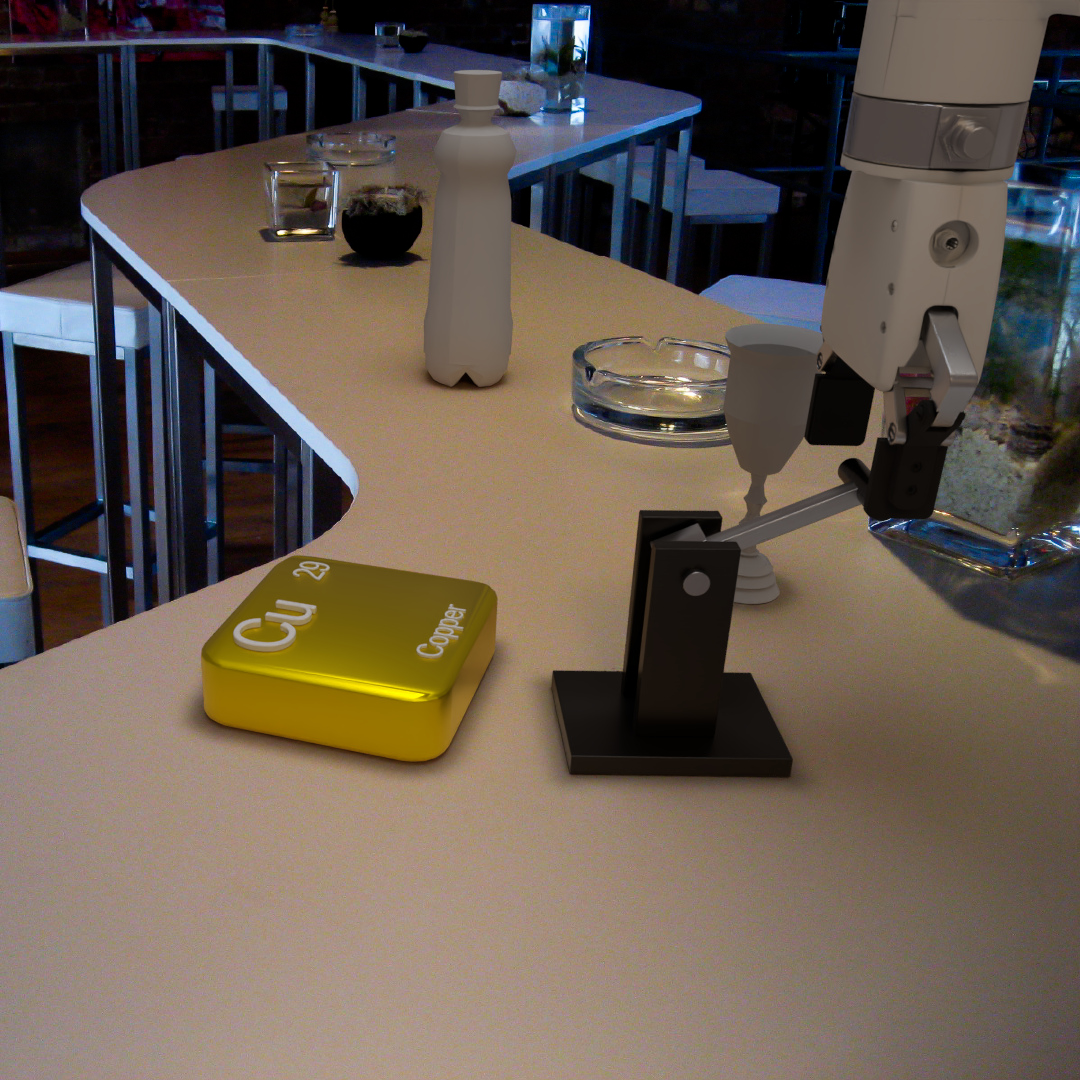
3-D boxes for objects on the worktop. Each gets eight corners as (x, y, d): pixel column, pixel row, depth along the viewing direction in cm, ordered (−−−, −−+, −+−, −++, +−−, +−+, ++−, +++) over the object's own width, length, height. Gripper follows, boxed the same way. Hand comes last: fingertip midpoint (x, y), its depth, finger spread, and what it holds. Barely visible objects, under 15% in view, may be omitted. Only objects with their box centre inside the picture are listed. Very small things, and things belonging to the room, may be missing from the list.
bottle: (510, 392, 127) (527, 77, 115) (420, 389, 128) (426, 76, 115) (509, 365, 136) (525, 68, 123) (425, 362, 136) (432, 67, 124)
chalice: (800, 615, 85) (844, 358, 78) (697, 607, 86) (730, 353, 79) (784, 567, 92) (824, 326, 84) (689, 560, 93) (719, 321, 85)
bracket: (748, 689, 77) (778, 496, 71) (790, 777, 69) (827, 567, 63) (551, 686, 77) (565, 494, 72) (569, 774, 69) (587, 565, 64)
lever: (869, 483, 69) (857, 445, 68) (904, 522, 64) (892, 483, 63) (658, 565, 71) (644, 529, 70) (677, 609, 67) (662, 572, 66)
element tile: (439, 771, 69) (441, 697, 67) (191, 722, 74) (186, 651, 72) (501, 641, 82) (505, 576, 80) (287, 606, 87) (286, 543, 84)
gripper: (1106, 170, 51) (1007, 551, 58) (939, 115, 66) (877, 422, 74) (919, 167, 51) (844, 548, 58) (795, 113, 67) (748, 419, 74)
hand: (862, 477), depth 66 cm, fingers open, 9 cm apart
